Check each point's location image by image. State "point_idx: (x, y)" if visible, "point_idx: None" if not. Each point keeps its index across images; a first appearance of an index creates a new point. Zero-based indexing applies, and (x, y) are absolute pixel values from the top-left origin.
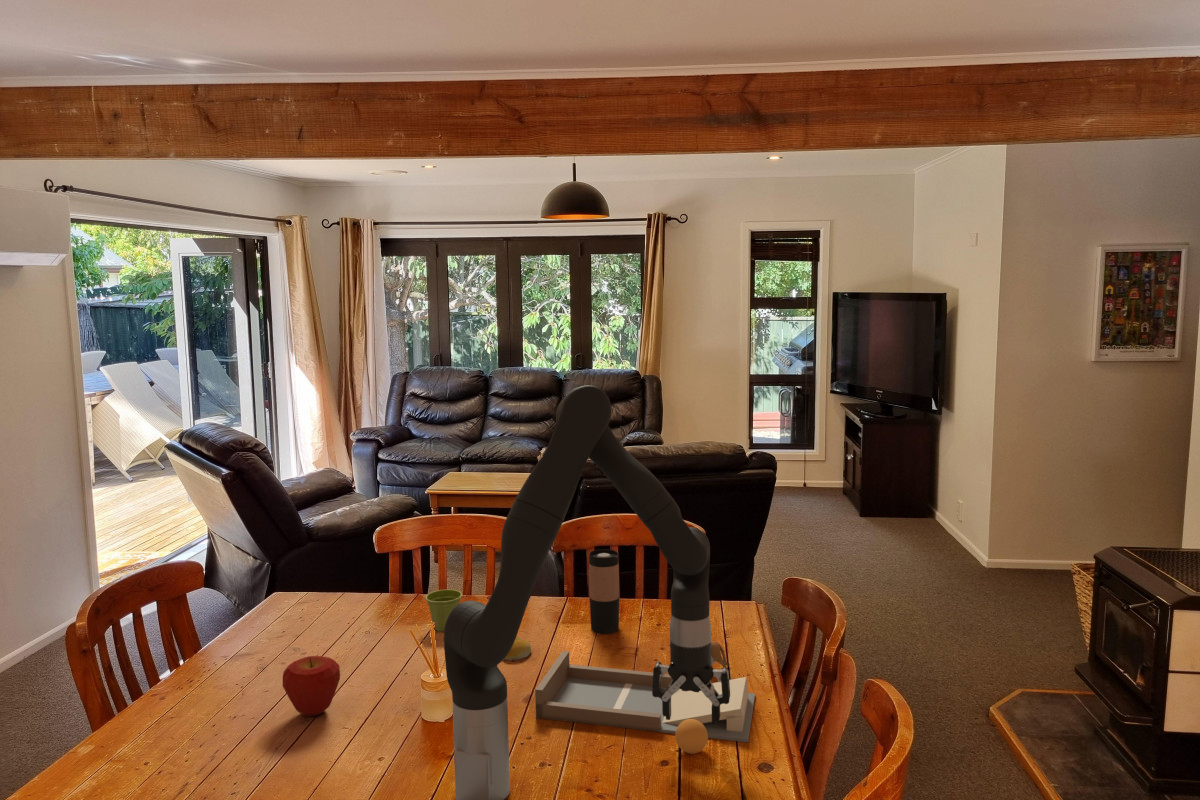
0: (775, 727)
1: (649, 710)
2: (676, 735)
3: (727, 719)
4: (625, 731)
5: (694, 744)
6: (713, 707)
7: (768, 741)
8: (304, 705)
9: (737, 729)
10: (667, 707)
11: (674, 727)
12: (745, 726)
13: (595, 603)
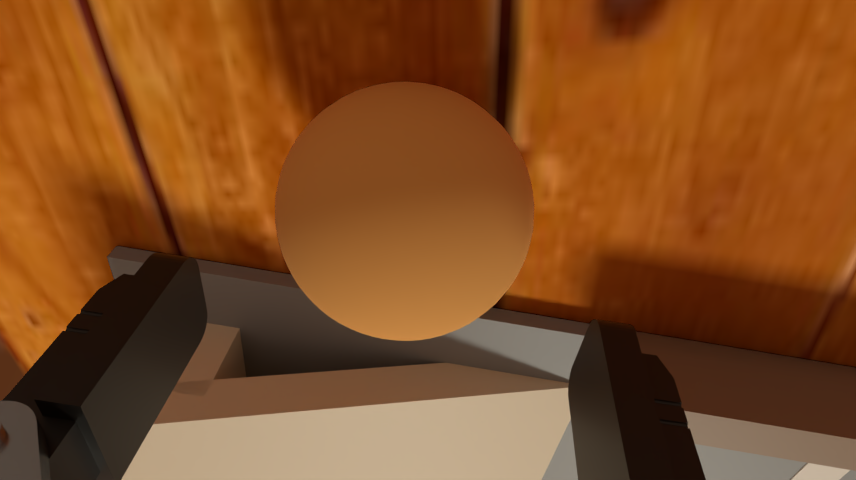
0: (43, 351)
1: None
2: (528, 195)
3: (210, 376)
4: (819, 334)
5: (372, 93)
6: (67, 392)
7: (24, 255)
8: None
9: None
10: (641, 430)
11: (520, 351)
12: None
13: None
